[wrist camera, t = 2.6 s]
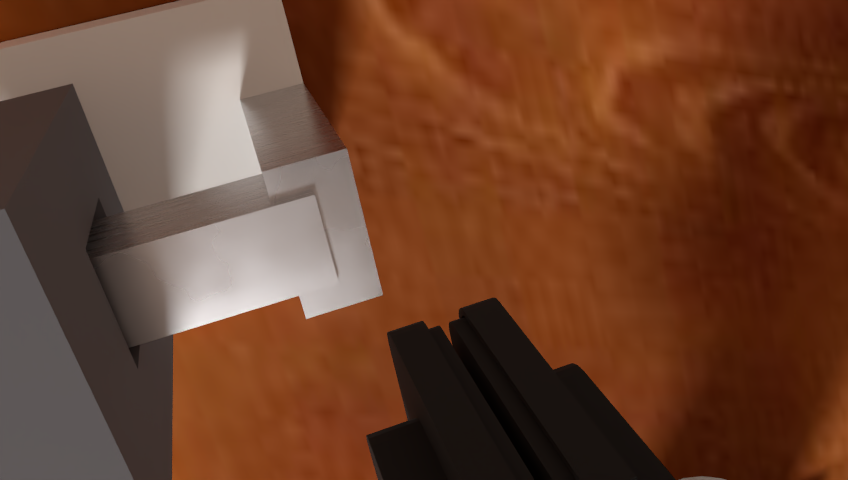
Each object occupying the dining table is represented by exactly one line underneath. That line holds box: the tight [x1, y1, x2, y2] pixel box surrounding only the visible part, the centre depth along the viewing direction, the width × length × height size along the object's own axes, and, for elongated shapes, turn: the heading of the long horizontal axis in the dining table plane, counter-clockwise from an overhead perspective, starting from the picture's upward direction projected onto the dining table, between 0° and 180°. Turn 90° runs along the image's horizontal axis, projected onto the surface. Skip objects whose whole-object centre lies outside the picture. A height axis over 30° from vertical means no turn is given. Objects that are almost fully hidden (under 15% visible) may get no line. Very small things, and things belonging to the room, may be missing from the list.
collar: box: [0, 84, 173, 480], centre depth 18 cm, size 3×8×9 cm, turn 11°
